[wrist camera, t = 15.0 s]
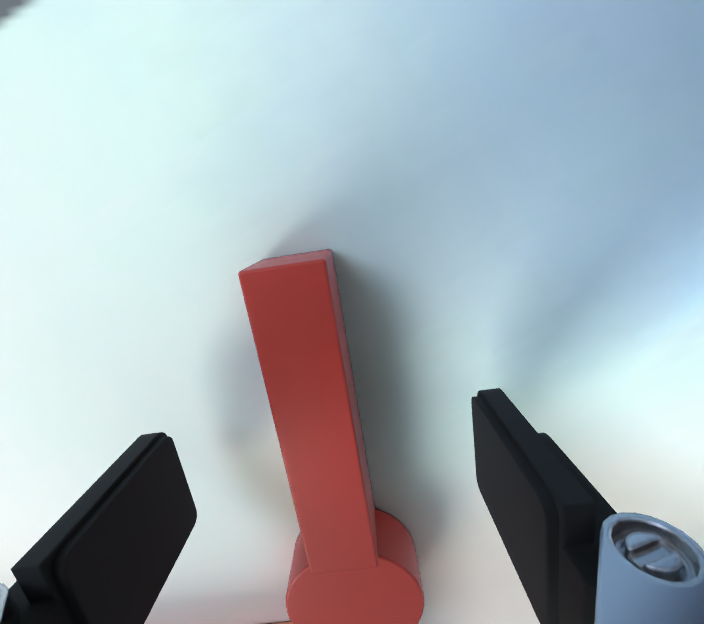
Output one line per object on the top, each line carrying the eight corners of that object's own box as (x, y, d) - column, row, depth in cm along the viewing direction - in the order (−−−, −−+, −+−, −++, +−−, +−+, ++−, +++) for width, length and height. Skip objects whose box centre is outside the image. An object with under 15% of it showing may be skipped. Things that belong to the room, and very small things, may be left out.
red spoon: (374, 242, 10) (380, 250, 8) (420, 591, 13) (433, 663, 11) (220, 265, 10) (183, 280, 8) (306, 603, 13) (298, 676, 11)
